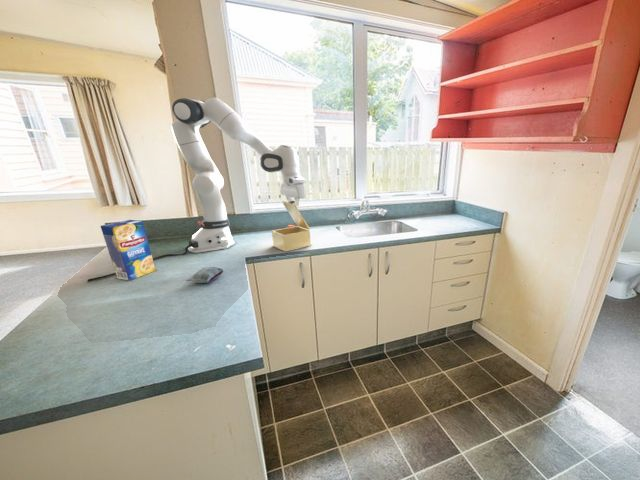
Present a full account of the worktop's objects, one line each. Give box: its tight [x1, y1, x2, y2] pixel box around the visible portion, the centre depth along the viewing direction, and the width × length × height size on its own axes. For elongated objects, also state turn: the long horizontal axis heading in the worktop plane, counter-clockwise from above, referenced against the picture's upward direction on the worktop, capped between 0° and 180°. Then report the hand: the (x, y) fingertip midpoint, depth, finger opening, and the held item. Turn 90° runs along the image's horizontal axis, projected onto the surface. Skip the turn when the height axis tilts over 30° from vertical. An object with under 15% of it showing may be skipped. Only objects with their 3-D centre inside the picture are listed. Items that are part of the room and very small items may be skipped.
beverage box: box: [100, 219, 157, 281], centre depth 121 cm, size 7×11×22 cm, turn 164°
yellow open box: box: [271, 225, 312, 252], centre depth 162 cm, size 16×13×9 cm
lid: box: [281, 200, 311, 231], centre depth 161 cm, size 16×13×5 cm
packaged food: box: [185, 266, 224, 284], centre depth 119 cm, size 9×12×5 cm
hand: (293, 205), depth 158 cm, fingers closed on lid, 5 cm apart
